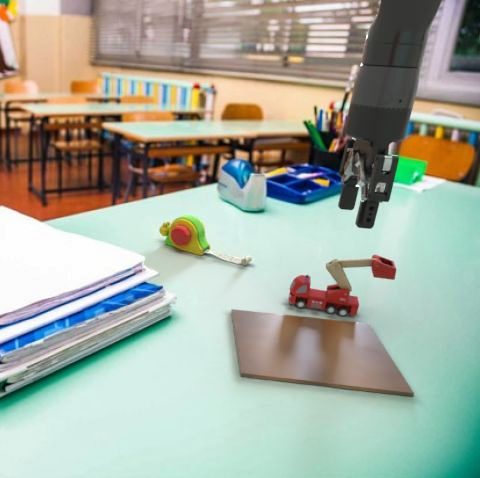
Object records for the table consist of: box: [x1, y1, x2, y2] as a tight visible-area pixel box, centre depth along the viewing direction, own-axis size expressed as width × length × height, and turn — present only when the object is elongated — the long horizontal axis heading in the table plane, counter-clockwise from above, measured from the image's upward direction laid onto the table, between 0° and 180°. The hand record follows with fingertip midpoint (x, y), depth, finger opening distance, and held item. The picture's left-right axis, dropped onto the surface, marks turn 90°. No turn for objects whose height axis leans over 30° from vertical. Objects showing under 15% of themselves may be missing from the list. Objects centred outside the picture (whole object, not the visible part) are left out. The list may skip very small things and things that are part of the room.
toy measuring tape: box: [159, 214, 253, 266], centre depth 95 cm, size 6×20×7 cm, turn 55°
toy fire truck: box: [288, 254, 397, 317], centre depth 75 cm, size 3×14×10 cm, turn 70°
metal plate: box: [230, 308, 415, 397], centre depth 66 cm, size 20×16×1 cm
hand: (354, 217), depth 71 cm, fingers open, 8 cm apart
